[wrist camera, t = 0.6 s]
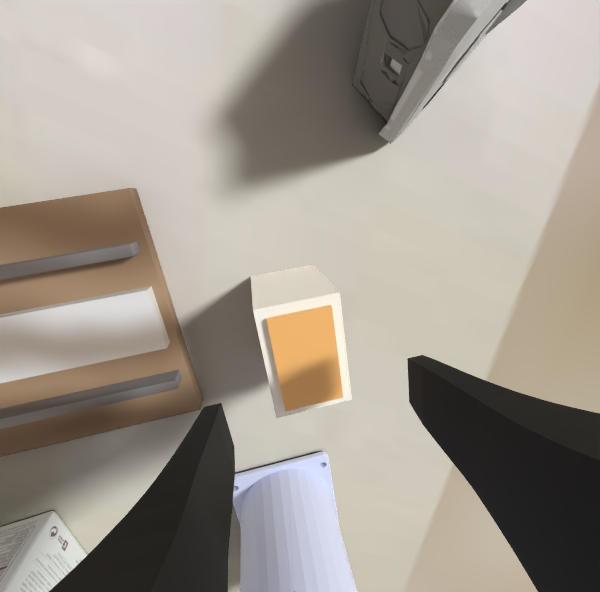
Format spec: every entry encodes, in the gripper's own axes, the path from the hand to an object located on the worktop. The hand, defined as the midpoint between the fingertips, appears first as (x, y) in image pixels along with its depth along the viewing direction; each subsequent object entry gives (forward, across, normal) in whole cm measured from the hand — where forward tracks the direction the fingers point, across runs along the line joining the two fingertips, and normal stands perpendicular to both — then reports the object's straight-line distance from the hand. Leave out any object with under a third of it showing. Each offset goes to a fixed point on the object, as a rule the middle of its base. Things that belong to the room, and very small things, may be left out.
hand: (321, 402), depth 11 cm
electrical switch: (+10, -9, -14) cm, 19 cm away
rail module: (+9, 0, 0) cm, 9 cm away
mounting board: (+9, +16, -2) cm, 19 cm away
